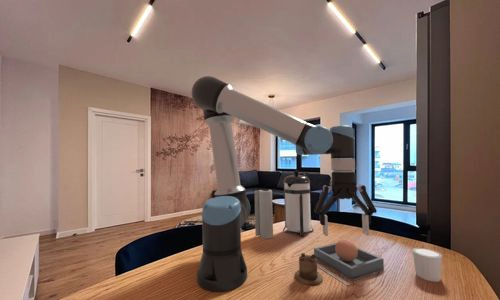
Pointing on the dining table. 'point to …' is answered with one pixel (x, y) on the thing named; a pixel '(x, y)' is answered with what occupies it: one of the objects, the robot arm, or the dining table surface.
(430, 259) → the white short cylinder
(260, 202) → the gray grooved column
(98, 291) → the dining table surface
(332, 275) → the line
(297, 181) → the coffee press
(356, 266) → the tray
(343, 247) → the ball
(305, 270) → the tee
